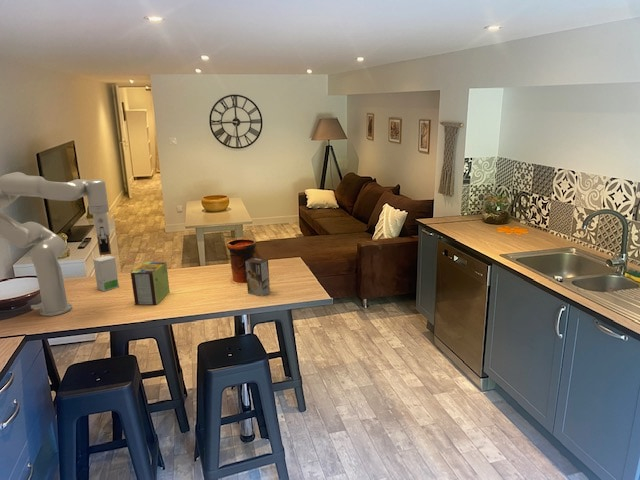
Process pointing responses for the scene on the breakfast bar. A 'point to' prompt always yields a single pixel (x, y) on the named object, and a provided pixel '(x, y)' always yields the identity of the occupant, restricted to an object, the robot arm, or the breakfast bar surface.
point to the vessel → (240, 258)
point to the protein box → (150, 283)
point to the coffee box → (257, 276)
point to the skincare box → (106, 273)
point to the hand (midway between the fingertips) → (104, 250)
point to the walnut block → (108, 245)
